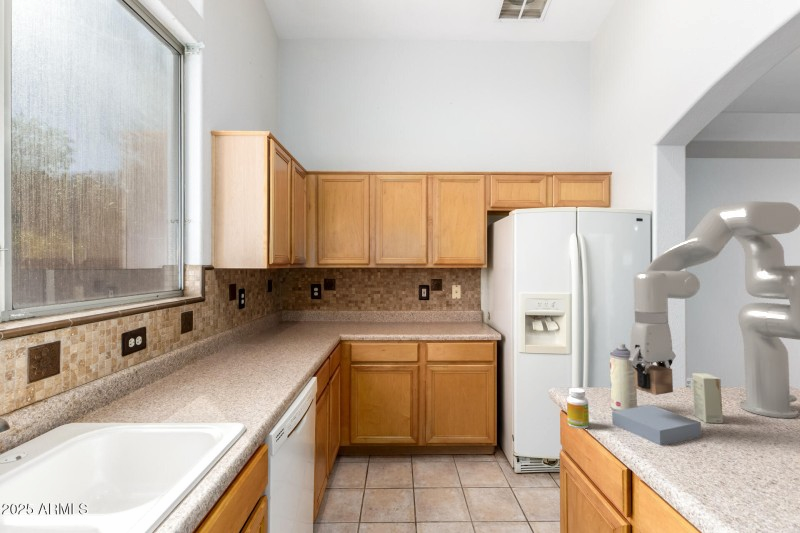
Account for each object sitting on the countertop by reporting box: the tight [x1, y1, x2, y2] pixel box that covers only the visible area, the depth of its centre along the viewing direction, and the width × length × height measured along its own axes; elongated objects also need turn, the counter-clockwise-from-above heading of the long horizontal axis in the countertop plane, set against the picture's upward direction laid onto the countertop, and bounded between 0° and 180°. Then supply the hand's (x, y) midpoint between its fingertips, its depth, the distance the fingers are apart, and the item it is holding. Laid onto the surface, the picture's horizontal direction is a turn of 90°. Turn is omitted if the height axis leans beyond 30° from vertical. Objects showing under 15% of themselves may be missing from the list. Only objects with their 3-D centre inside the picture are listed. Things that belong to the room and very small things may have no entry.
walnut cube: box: [634, 363, 674, 396], centre depth 104 cm, size 6×6×6 cm
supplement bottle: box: [566, 387, 590, 430], centre depth 108 cm, size 5×5×10 cm
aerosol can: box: [609, 343, 638, 411], centre depth 119 cm, size 7×7×20 cm
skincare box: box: [691, 372, 724, 424], centre depth 110 cm, size 6×4×12 cm
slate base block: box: [611, 404, 702, 446], centre depth 104 cm, size 14×14×4 cm
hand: (653, 385), depth 104 cm, fingers closed on walnut cube, 6 cm apart
